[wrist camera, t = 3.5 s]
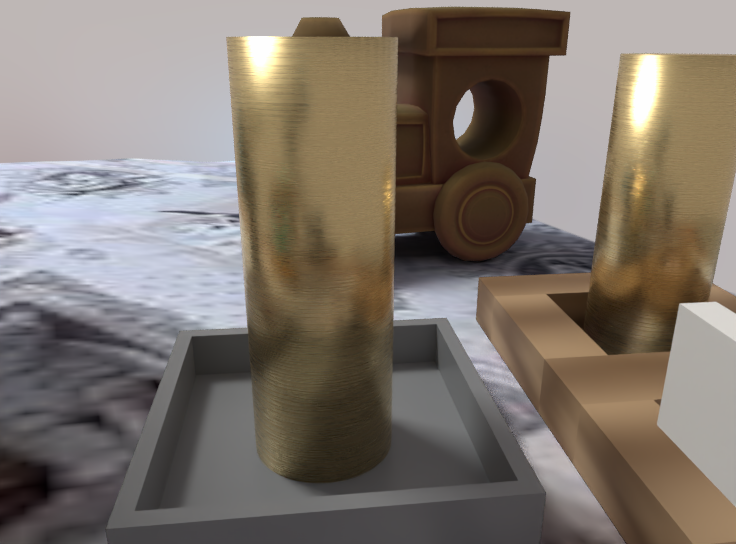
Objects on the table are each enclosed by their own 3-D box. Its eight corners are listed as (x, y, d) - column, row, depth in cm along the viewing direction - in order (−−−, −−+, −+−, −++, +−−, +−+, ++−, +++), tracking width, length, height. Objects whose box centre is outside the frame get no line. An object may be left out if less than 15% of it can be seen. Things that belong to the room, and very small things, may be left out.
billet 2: (566, 372, 29) (607, 54, 24) (594, 333, 33) (634, 53, 28) (684, 405, 27) (755, 56, 22) (699, 358, 31) (763, 54, 26)
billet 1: (227, 450, 23) (189, 37, 18) (312, 390, 27) (300, 37, 22) (339, 503, 20) (331, 36, 15) (415, 427, 24) (428, 37, 19)
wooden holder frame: (1192, 663, 16) (1241, 586, 15) (745, 721, 14) (770, 640, 13) (679, 309, 36) (686, 268, 35) (476, 319, 35) (478, 277, 34)
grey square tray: (118, 601, 17) (105, 529, 16) (185, 381, 28) (179, 331, 28) (537, 561, 19) (545, 492, 18) (444, 365, 30) (446, 317, 29)
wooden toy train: (483, 218, 55) (497, 12, 49) (554, 260, 44) (582, 5, 39) (251, 237, 49) (236, 9, 44) (271, 289, 39) (255, -1, 33)
